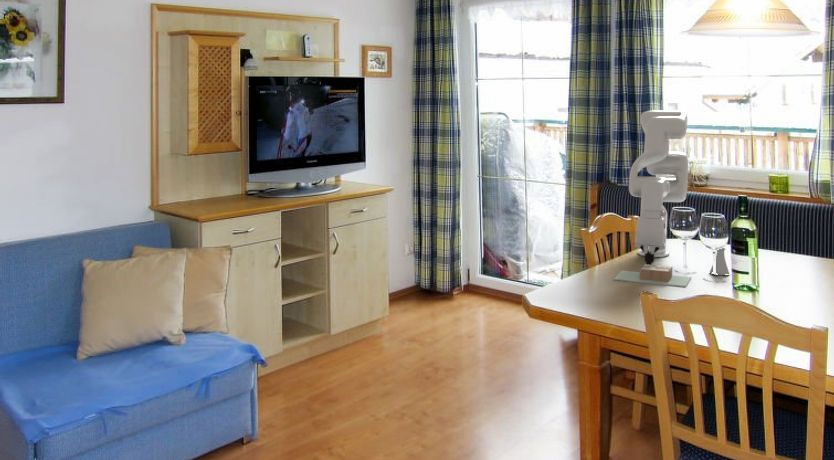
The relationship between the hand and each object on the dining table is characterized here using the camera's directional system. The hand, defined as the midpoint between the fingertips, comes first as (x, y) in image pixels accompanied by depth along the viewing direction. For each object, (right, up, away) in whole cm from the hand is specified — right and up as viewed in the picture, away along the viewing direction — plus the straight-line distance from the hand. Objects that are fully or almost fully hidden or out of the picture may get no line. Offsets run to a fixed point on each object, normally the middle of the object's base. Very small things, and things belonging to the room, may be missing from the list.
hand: (649, 263), depth 277 cm
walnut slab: (-2, -3, +2) cm, 4 cm away
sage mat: (+1, -6, 0) cm, 6 cm away
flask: (+28, -4, +6) cm, 29 cm away
